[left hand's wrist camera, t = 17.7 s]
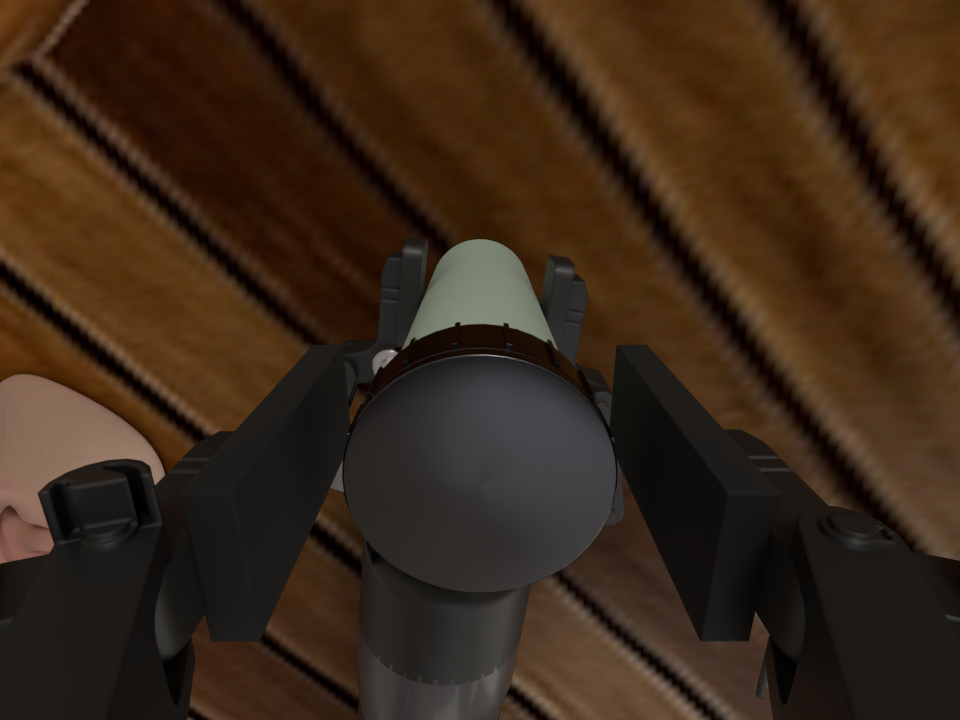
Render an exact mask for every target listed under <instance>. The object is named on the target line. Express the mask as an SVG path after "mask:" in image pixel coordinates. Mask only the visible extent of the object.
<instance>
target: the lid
mask: <svg viewBox="0 0 960 720" xmlns="http://www.w3.org/2000/svg"><path fill="white" fill-rule="evenodd" d="M365 396H366V397H367V398H366V400H365V402H364V404H361V405H360V407H359V409H358V411H357V413H356V416H355V418H354V420H353V422H352V424H351V426H350V428H349V430H348V432H347V434H346V438H348V440H347V443H346V446H345V451H344V457H343V462H342V481H343V489H344V495H345V498H346V502H347V505H348V509H349V511H350V513H351V516H352V518H353V520H354V522H355V524H356V526H357V527H358V529H359V531H360V532H361V534H362V535H363V537H364V538H365V539H366V541H367V542H368V543H369V544H370V545H371V547H372V548H373V549H374V550H375V551H376V552H377V553H378V554H379V555H380V556H382V557H383V558H384V559H385V560H386V561H387V562H389V563H390V564H392V565H393V566H394V567H396V568H397V569H399V570H400V571H402V572H404V573H406V574H408V575H409V576H411V577H413V578H416V579H418V580H420V581H423V582H425V583H428V584H431V585H434V586H437V587H441V588H445V589H450V590H456V591H464V592H496V591H504V590H510V589H514V588H519V587H523V586H526V585H529V584H532V583H535V582H537V581H540V580H542V579H544V578H546V577H548V576H550V575H552V574H554V573H556V572H558V571H559V570H561V569H562V568H564V567H566V566H567V565H568V564H570V563H571V562H572V561H573V560H575V559H576V558H577V557H578V556H580V555H581V554H582V553H583V551H584V550H585V549H586V548H587V547H588V546H589V545H590V544H591V543H592V542H593V540H594V539H595V538H596V536H597V535H598V534H599V532H600V531H601V529H602V527H603V525H604V523H605V522H606V520H607V518H608V515H609V513H610V510H611V508H612V505H613V502H614V497H615V493H616V488H617V476H618V469H617V457H616V452H615V448H614V444H613V442H615V440H614V436H613V434H612V432H611V430H610V428H609V426H608V424H607V422H606V420H605V418H604V416H603V414H602V412H601V410H600V408H599V407H597V405H596V402H595V400H597V398H596V396H595V394H594V392H593V390H592V388H591V386H590V384H589V382H588V380H587V378H586V376H585V374H584V372H583V370H582V369H581V370H579V371H578V370H577V369H576V368H575V367H574V365H573V364H572V363H571V362H570V361H569V360H568V359H567V358H566V357H565V356H564V355H563V354H562V353H561V352H560V351H558V350H557V349H555V348H554V345H553V343H552V341H550V340H549V339H548V340H547V341H546V342H545V341H543V340H541V339H539V338H538V337H536V336H534V335H532V334H529V333H526V332H523V331H521V330H518V329H514V328H510V327H509V324H508V323H503V326H501V325H491V324H467V325H461V323H460V322H457V323H455V326H454V327H449V328H446V329H442V330H439V331H436V332H433V333H431V334H429V335H426V336H424V337H422V338H420V339H418V340H417V339H416V337H414V338H413V339H411V341H410V344H409V345H408V346H407V347H406V348H404V349H403V350H402V351H401V352H399V353H398V354H397V355H396V356H394V358H393V359H392V360H391V361H390V362H389V363H388V364H387V365H386V366H385V367H384V368H383V367H381V366H380V367H379V369H378V370H377V372H376V374H375V376H374V378H373V381H372V383H371V385H370V387H369V389H368V391H367V393H366V395H365Z"/></svg>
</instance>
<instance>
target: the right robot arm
mask: <svg viewBox="0 0 960 720" xmlns="http://www.w3.org/2000/svg"><path fill="white" fill-rule="evenodd" d="M427 250H428V239H422V238H414V237H408V238H407V239H406V241H405V242H404V244H403V250H402V252H397V251H394V252H393V253H392V254H391V255H390V256H389V258H388V260H387V262H386V264H385V266H384V268H383V270H382V277H381V293H380V309H379V325H378V336H377V337H376V338H374V339H371V340H367V341H362V342H359V341H356V340H349V341H346V342H344V343H343V344H342V345H343V349H344V360H345V371H346V382H347V393H348V404H349V409H350V406H351V404H352V401H353V398H354V395H355V393H356V390H357V387H358V384H360V383H365V382H369V381H373V378H374V376H375V374H376V372H377V370H378V369H379V367H380V366H381V367H383V368H384V367H385V366H386V365H387V364H388V363H389V362H390V361H391V360H392V359H393V358H394V356H396V355H397V354H398V353H399V352H401V351H402V348H403V346H404V344H405V341H406V339H407V336H408V334H409V332H410V329H411V327H412V324H413V322H414V319H415V317H416V315H417V312H418V310H419V307H420V305H421V303H422V300H423V294H424V283H425V272H426V261H427ZM574 270H575V267H574V263H573V262H572V261H571V260H570V259H569V258H568V257H561V256H553V255H550V256H549V258H548V261H547V266H546V272H545V278H544V284H543V290H542V296H541V302H540V308H541V310H542V312H543V315H544V317H545V320H546V322H547V324H548V327H549V329H550V332H551V334H552V336H553V339H554V341H555V344H556V346H557V349H558V351H560V352H561V353H562V354H563V355H564V356H565V357H566V358H567V359H568V360H569V361H570V362H571V363H572V364H573V365H574V367H575V368H576V369H577V370H578V371H579V370H581V369H582V370H583V372H584V374H585V376H586V378H587V380H588V382H589V384H590V386H591V388H592V390H593V392H594V394H595V396H596V398H597V400H595V402H596V405H597V407H599V408H600V410H601V412H602V414H603V416H604V418H605V420H606V422H607V424H608V426H610V415H611V404H612V392H611V390H610V388H609V387H608V385H607V383H606V381H605V380H604V378H603V376H602V375H601V373H600V372H598V371H597V370H595V369H586V368H584V367H582V366H580V365H579V364H577V363H576V362H575V360H576V354H577V349H578V344H579V339H580V334H581V329H582V322H583V319H584V312H585V309H586V303H587V298H588V295H587V290H586V285H585V282H584V281H583V280H582V279H581V277H580V276H579V275H576V274H574ZM342 462H343V461H342ZM617 469H618V476H617V488H616V493H615V497H614V502H613V505H612V508H611V510H610V513H609V515H608V518H607V520H606V522H605V523H604V525H606V526H609V525H614V524H616V523H618V522H619V521H620V520H621V519H622V517H623V514H624V506H623V490H622V473H621V467H620V465H619V463H618V461H617ZM330 488H333V489H335V490H338V491H341V492H344V489H343V481H342V463H341V465H340V467H339V469H338V472H337V474H336V476H335V478H334V480H333V482H332V485H331V487H330ZM530 587H531V584H529V585H526V586H523V587H519V588H514V589H510V590H504V591H496V592H464V591H456V590H450V589H445V588H441V587H437V586H434V585H431V584H428V583H425V582H423V581H420V580H418V579H416V578H413V577H411V576H409V575H408V574H406V573H404V572H402V571H400V570H399V569H397V568H396V567H394V566H393V565H392V564H390V563H389V562H387V561H386V560H385V559H384V558H383V557H382V556H380V555H379V554H378V553H377V552H376V551H375V550H374V549H373V548H372V547H371V545H370V544H369V543H368V542H367V541H366V539H365V538H364V543H363V559H362V575H361V591H360V607H359V623H358V640H357V673H358V682H359V706H358V720H499V715H500V710H501V707H502V704H503V702H504V699H505V697H506V695H507V692H508V689H509V687H510V683H511V680H512V676H513V672H514V668H515V663H516V658H517V653H518V647H519V642H520V637H521V632H522V627H523V622H524V617H525V612H526V607H527V602H528V597H529V592H530Z"/></svg>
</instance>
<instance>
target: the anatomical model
mask: <svg viewBox="0 0 960 720" xmlns="http://www.w3.org/2000/svg"><path fill="white" fill-rule="evenodd" d="M115 459H134V460H141V461H143V462H145V463H146V464H148V465H149V466H150V467H151V472H152V476H153V480H154V484H155V485H156V484H157V483H158V482H159V481H160V480H161V479H162V478H163V477H164V476H165V472H164V469H163V466H162V464H161V461H160V459H159V457H158V455H157V454H156V452H155V451H154V449H153V448H152V446H151V445H150V444H149V443H148V442H147V440H146V439H145V438H144V437H143V436H142V435H141V434H140V433H139V432H138V431H137V430H135V429H134V428H133V427H132V426H130V425H129V424H128V423H127V422H125V421H124V420H123V419H122V418H120V417H119V416H117V415H116V414H114V413H113V412H111V411H110V410H108V409H107V408H105V407H103V406H101V405H100V404H98V403H96V402H94V401H93V400H91V399H89V398H87V397H85V396H83V395H81V394H79V393H77V392H76V391H74V390H72V389H70V388H68V387H65V386H63V385H61V384H58V383H56V382H53V381H51V380H48V379H46V378H43V377H39V376H35V375H29V374H18V375H14V376H11V377H9V378H7V379H6V380H4V381H2V382H1V383H0V563H5V562H10V561H16V560H21V559H26V558H31V557H36V556H41V555H46V554H49V553H50V551H51V549H52V548H53V546H54V543H53V540H52V537H51V533H50V530H49V527H48V524H47V521H46V518H45V515H44V512H43V509H42V506H41V503H40V500H39V497H38V494H37V493H38V492H39V491H40V490H41V489H42V488H43V487H44V486H45V485H46V484H48V483H49V482H50V481H52V480H54V479H56V478H57V477H59V476H61V475H63V474H65V473H66V472H69V471H72V470H74V469H77V468H80V467H82V466H85V465H88V464H93V463H97V462H102V461H106V460H115Z"/></svg>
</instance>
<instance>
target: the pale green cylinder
mask: <svg viewBox="0 0 960 720" xmlns="http://www.w3.org/2000/svg"><path fill="white" fill-rule="evenodd" d="M457 322H460V323H461V325H467V324H491V325H501V326H503V323H508V324H509V327H510V328H514V329H518V330H521V331H523V332H526V333H529V334H532V335H534V336H536V337H538V338H539V339H541V340H543V341H545V342H546V341H547V340H548V339H549V340H550V341H552V343H553V345H554V348H555V349H557V346H556V344H555V341H554V339H553V336H552V334H551V332H550V329H549V327H548V324H547V322H546V320H545V317H544V315H543V312H542V310H541V308H540V305H539V303H538V300H537V298H536V296H535V293H534V291H533V288H532V286H531V284H530V281H529V279H528V276H527V274H526V272H525V269H524V267H523V265H522V263H521V262H520V260H519V259H518V257H517V256H516V255H515V254H514V253H513V252H512V251H511V250H510V249H508V248H507V247H505V246H504V245H502V244H499V243H497V242H494V241H490V240H484V239H477V240H470V241H465V242H463V243H460V244H458V245H456V246H455V247H453V248H452V249H450V250H449V251H448V252H447V253H446V254H445V255H444V256H443V257H442V258H441V260H440V261H439V263H438V265H437V267H436V269H435V271H434V274H433V276H432V279H431V281H430V283H429V286H428V288H427V291H426V293H425V295H424V298H423V300H422V303H421V305H420V307H419V310H418V312H417V315H416V317H415V319H414V322H413V324H412V327H411V329H410V332H409V334H408V336H407V339H406V341H405V344H404V346H403V348H402V350H403V349H404V348H406V347H407V346H408V345H409V344H410V341H411V339H413V338H414V337H416V339H417V340H418V339H420V338H422V337H424V336H426V335H429V334H431V333H433V332H436V331H439V330H442V329H446V328H449V327H454V326H455V323H457ZM557 350H558V349H557Z"/></svg>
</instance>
